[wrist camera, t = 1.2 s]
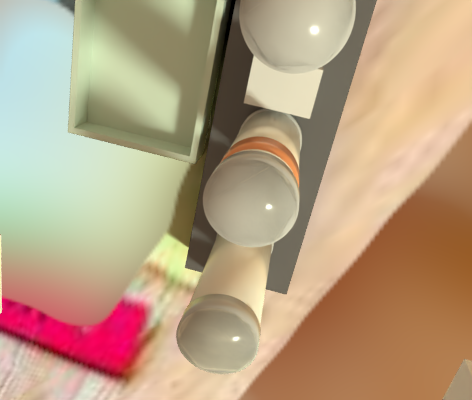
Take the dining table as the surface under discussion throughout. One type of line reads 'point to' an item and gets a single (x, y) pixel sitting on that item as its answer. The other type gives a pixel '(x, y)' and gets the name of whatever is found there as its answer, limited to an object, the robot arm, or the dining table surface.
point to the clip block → (287, 101)
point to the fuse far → (226, 309)
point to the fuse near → (296, 31)
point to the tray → (147, 72)
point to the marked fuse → (257, 181)
